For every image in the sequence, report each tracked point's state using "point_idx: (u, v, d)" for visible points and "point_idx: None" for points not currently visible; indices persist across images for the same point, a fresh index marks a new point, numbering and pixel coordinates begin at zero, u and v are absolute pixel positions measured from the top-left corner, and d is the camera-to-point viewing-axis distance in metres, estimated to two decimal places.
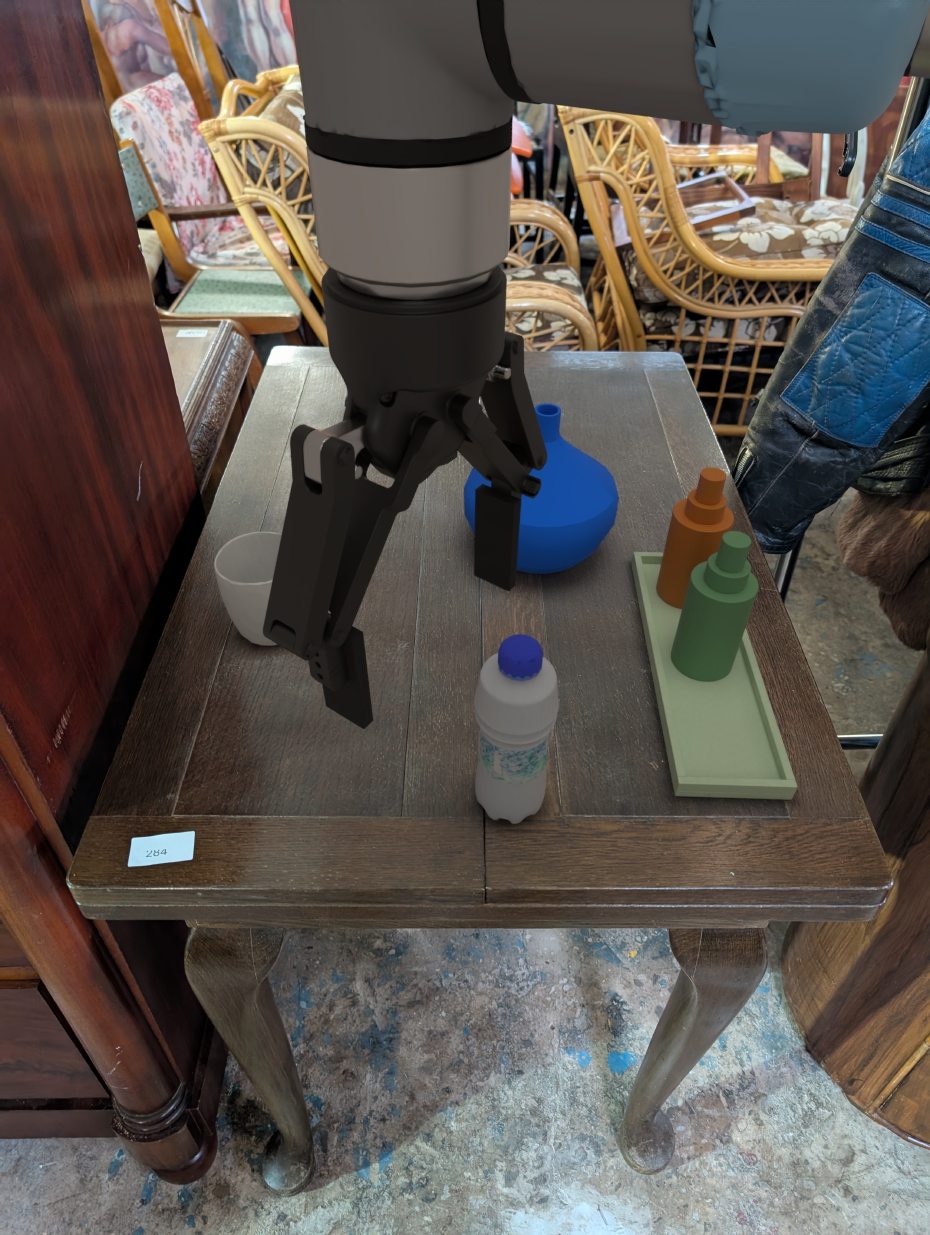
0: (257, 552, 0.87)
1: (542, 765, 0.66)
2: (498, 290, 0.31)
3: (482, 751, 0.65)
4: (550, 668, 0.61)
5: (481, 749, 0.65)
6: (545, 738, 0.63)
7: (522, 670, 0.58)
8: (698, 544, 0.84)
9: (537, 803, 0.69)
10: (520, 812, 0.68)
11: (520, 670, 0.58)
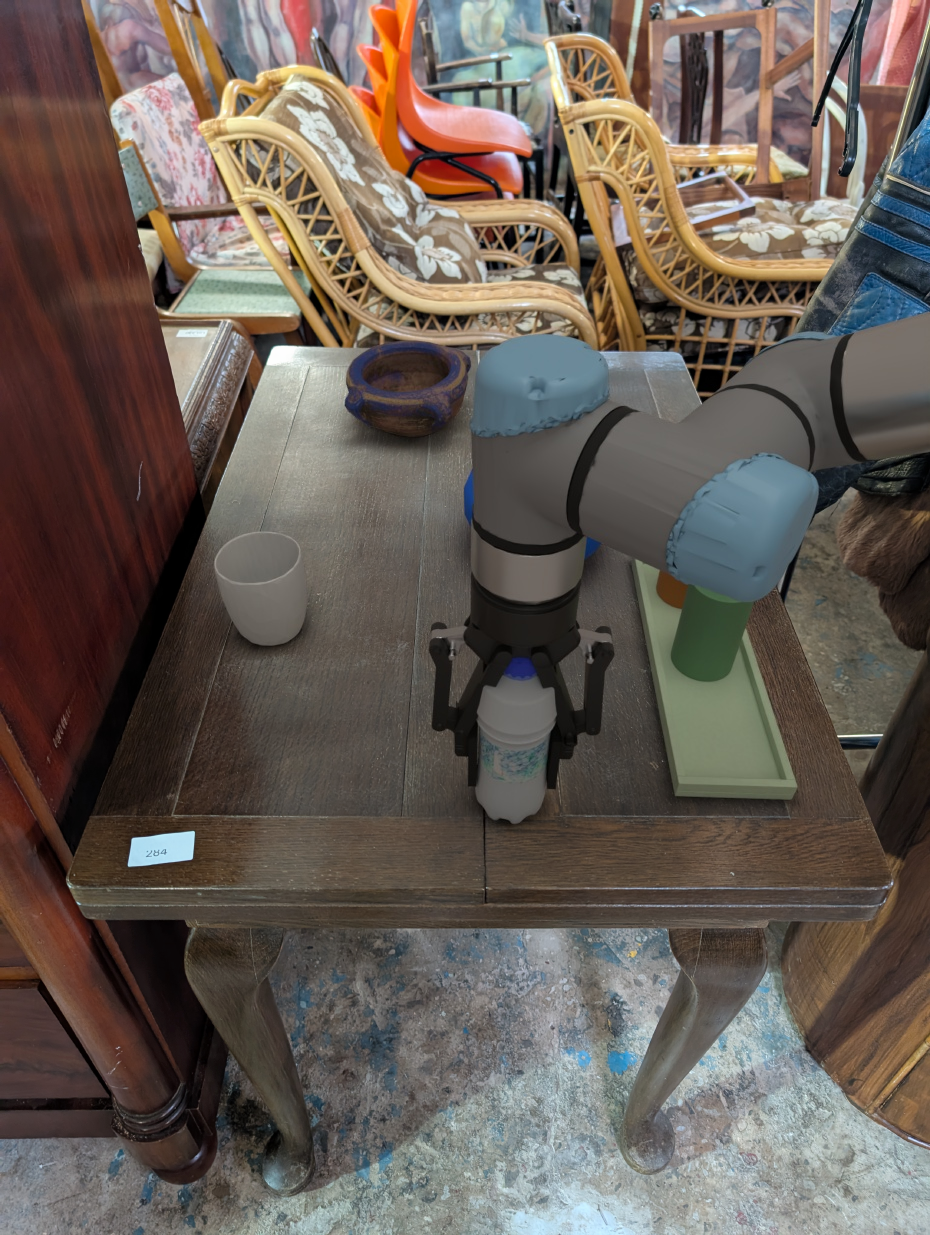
0: (257, 552, 0.87)
1: (542, 765, 0.66)
2: (542, 612, 0.52)
3: (482, 751, 0.65)
4: None
5: (481, 749, 0.65)
6: (545, 738, 0.63)
7: (522, 670, 0.58)
8: None
9: (537, 803, 0.69)
10: (520, 812, 0.68)
11: (520, 670, 0.58)
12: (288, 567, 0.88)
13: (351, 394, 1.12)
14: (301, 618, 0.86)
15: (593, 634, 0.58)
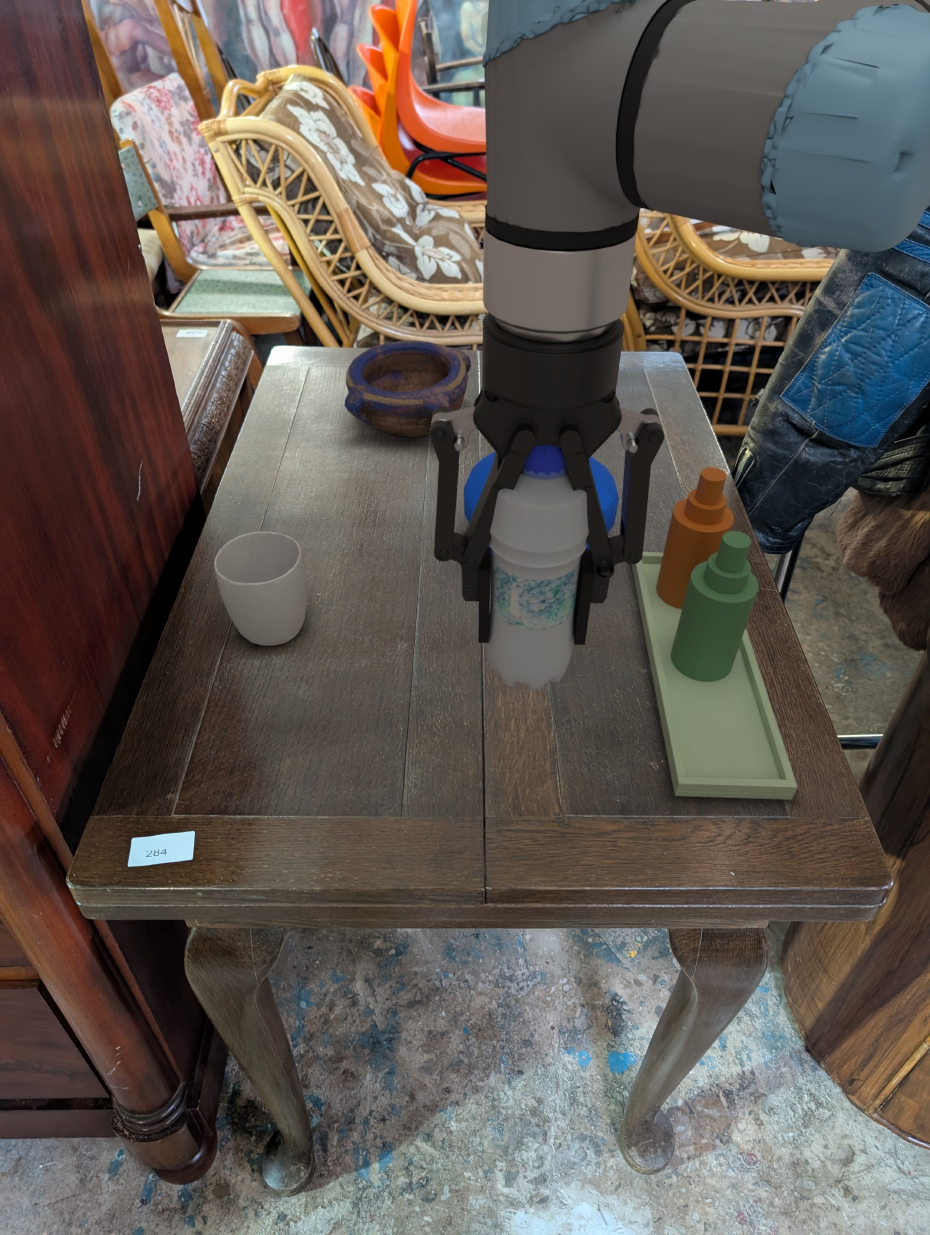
0: (257, 552, 0.87)
1: (569, 608, 0.54)
2: (576, 351, 0.40)
3: (496, 590, 0.53)
4: None
5: (495, 587, 0.53)
6: (574, 567, 0.51)
7: (547, 462, 0.46)
8: (698, 544, 0.84)
9: (563, 662, 0.57)
10: (542, 672, 0.56)
11: (545, 462, 0.46)
12: (288, 567, 0.88)
13: (351, 394, 1.12)
14: (301, 618, 0.86)
15: (637, 415, 0.46)
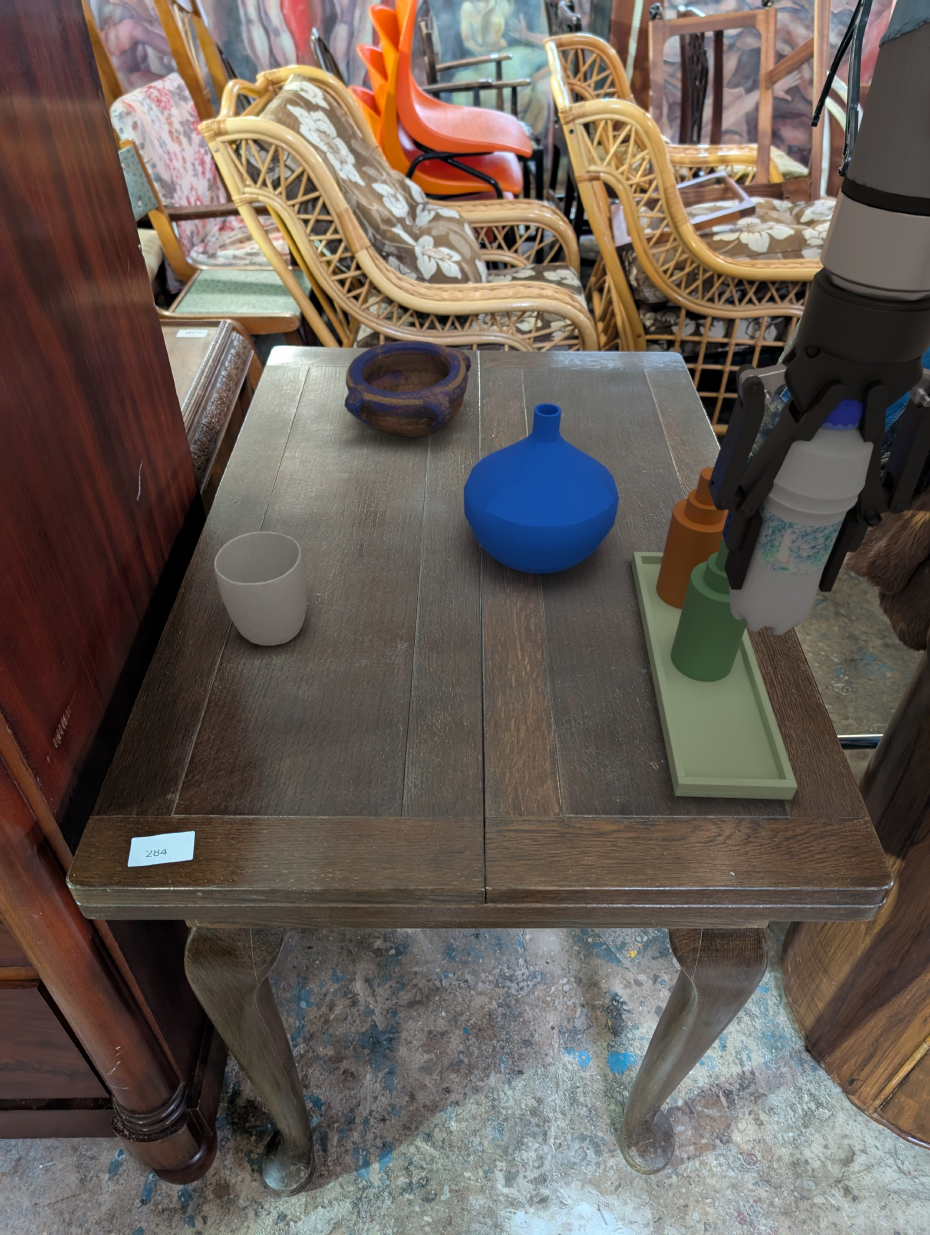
0: (257, 552, 0.87)
1: (828, 555, 0.58)
2: (920, 309, 0.44)
3: (764, 537, 0.58)
4: None
5: (762, 535, 0.58)
6: (844, 515, 0.56)
7: (848, 414, 0.51)
8: (698, 544, 0.84)
9: (809, 607, 0.61)
10: (793, 616, 0.61)
11: (846, 415, 0.51)
12: (288, 567, 0.88)
13: (351, 394, 1.12)
14: (301, 618, 0.86)
15: None
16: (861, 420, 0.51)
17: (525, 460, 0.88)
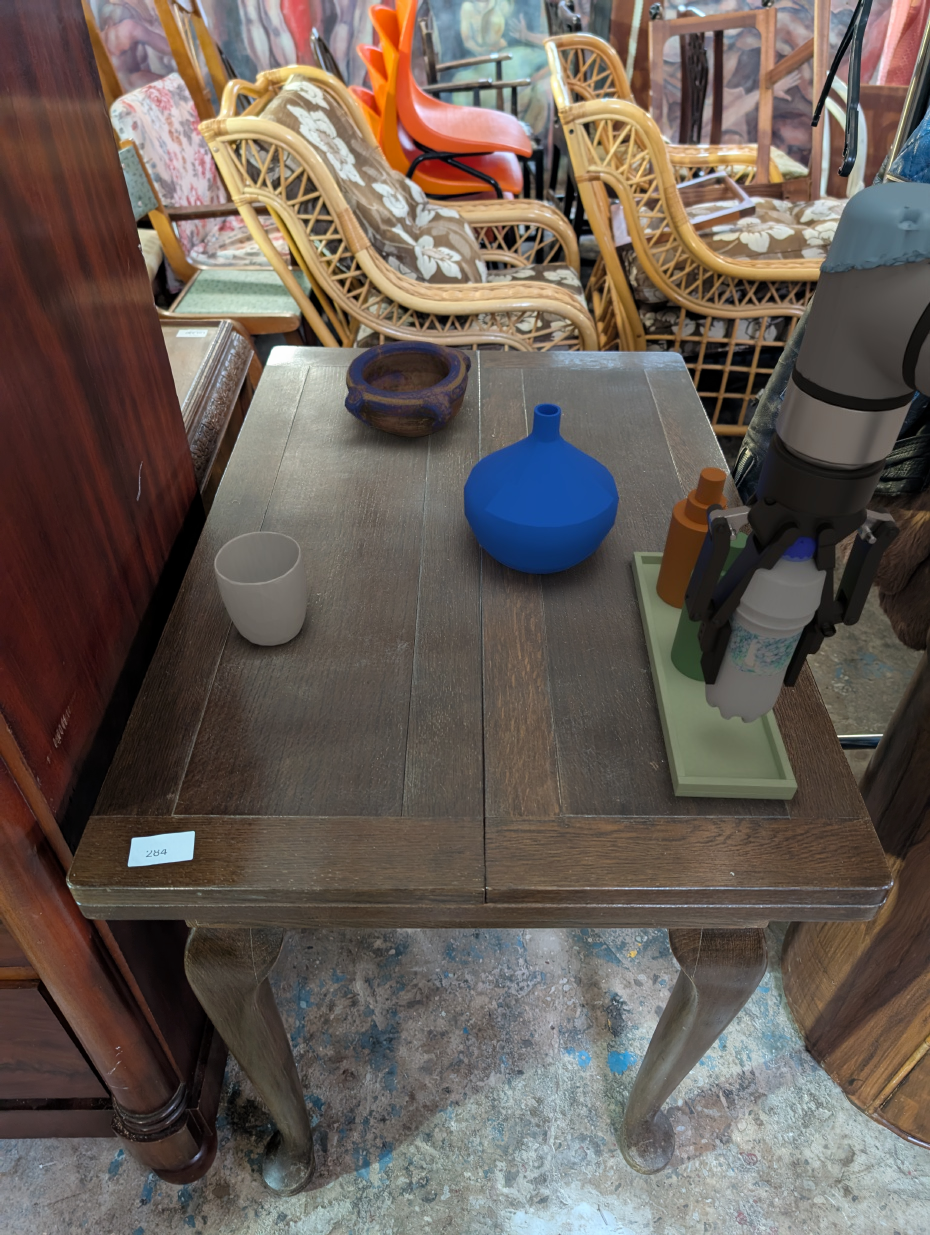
0: (257, 552, 0.87)
1: (790, 658, 0.66)
2: (858, 477, 0.52)
3: (733, 643, 0.65)
4: None
5: (731, 641, 0.65)
6: (803, 627, 0.63)
7: (803, 549, 0.58)
8: (698, 544, 0.84)
9: (775, 700, 0.69)
10: (760, 708, 0.68)
11: (801, 550, 0.58)
12: (288, 567, 0.88)
13: (351, 394, 1.12)
14: (301, 618, 0.86)
15: (876, 514, 0.58)
16: (815, 553, 0.59)
17: (525, 460, 0.88)
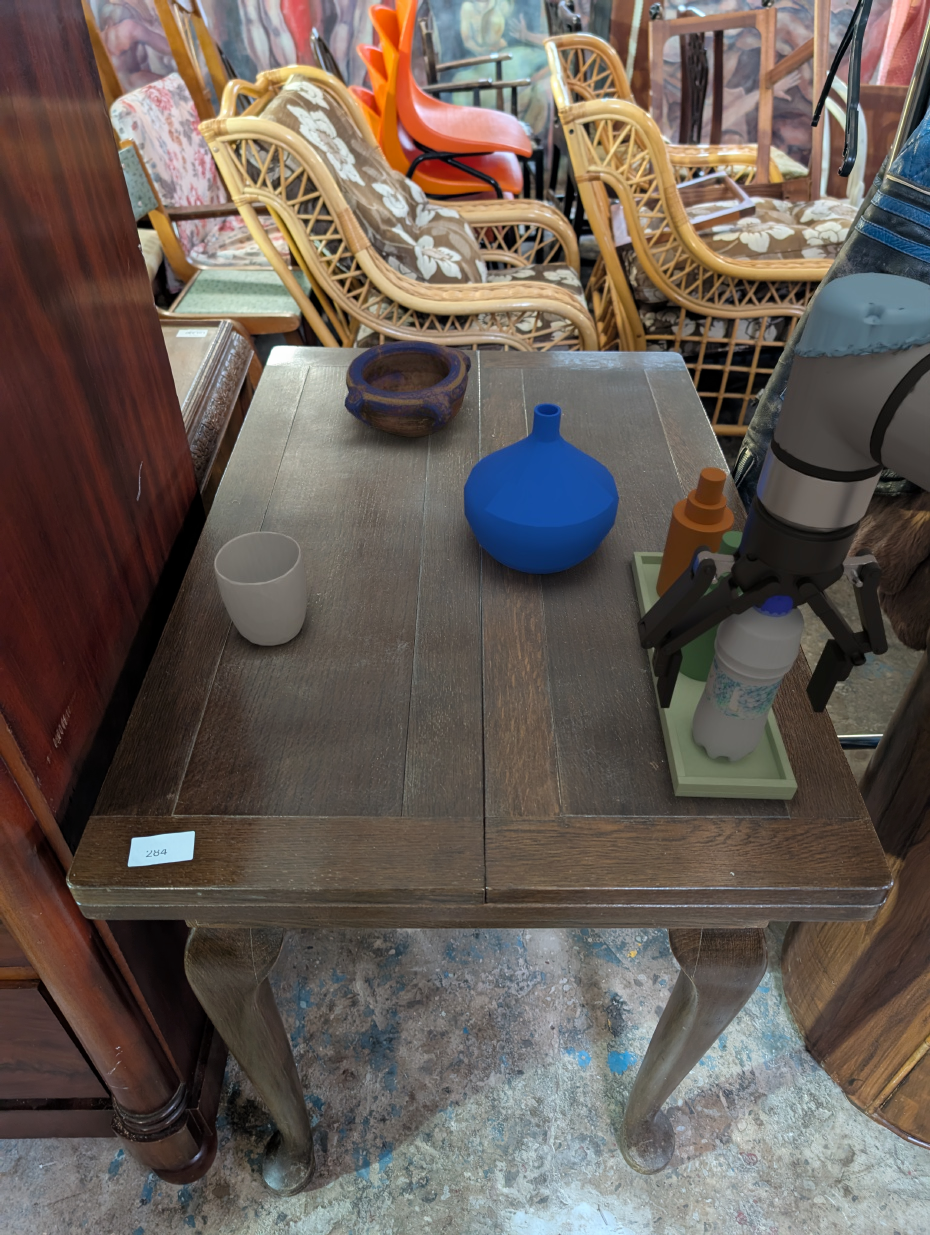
0: (257, 552, 0.87)
1: (772, 703, 0.70)
2: (833, 539, 0.55)
3: (718, 689, 0.69)
4: None
5: (716, 687, 0.69)
6: (783, 675, 0.67)
7: (781, 606, 0.62)
8: (698, 544, 0.84)
9: (758, 741, 0.73)
10: (744, 749, 0.72)
11: (779, 606, 0.62)
12: (288, 567, 0.88)
13: (351, 394, 1.12)
14: (301, 618, 0.86)
15: (855, 559, 0.61)
16: (807, 602, 0.62)
17: (525, 460, 0.88)
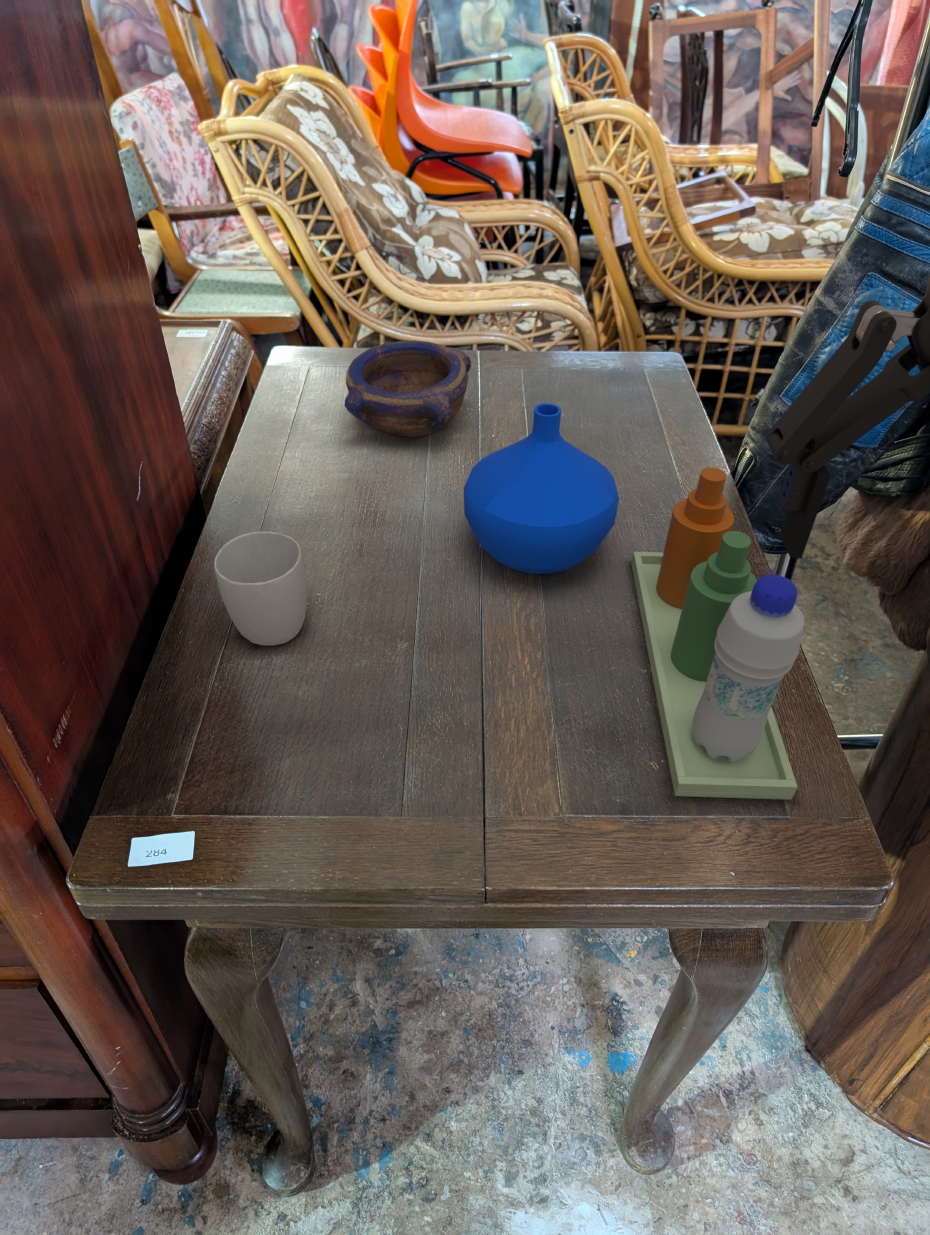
0: (257, 552, 0.87)
1: (772, 703, 0.70)
2: None
3: (718, 689, 0.69)
4: (796, 607, 0.65)
5: (716, 687, 0.69)
6: (783, 675, 0.67)
7: (781, 606, 0.62)
8: (698, 544, 0.84)
9: (758, 741, 0.73)
10: (744, 749, 0.72)
11: (780, 606, 0.62)
12: (288, 567, 0.88)
13: (351, 394, 1.12)
14: (301, 618, 0.86)
15: None
16: None
17: (525, 460, 0.88)
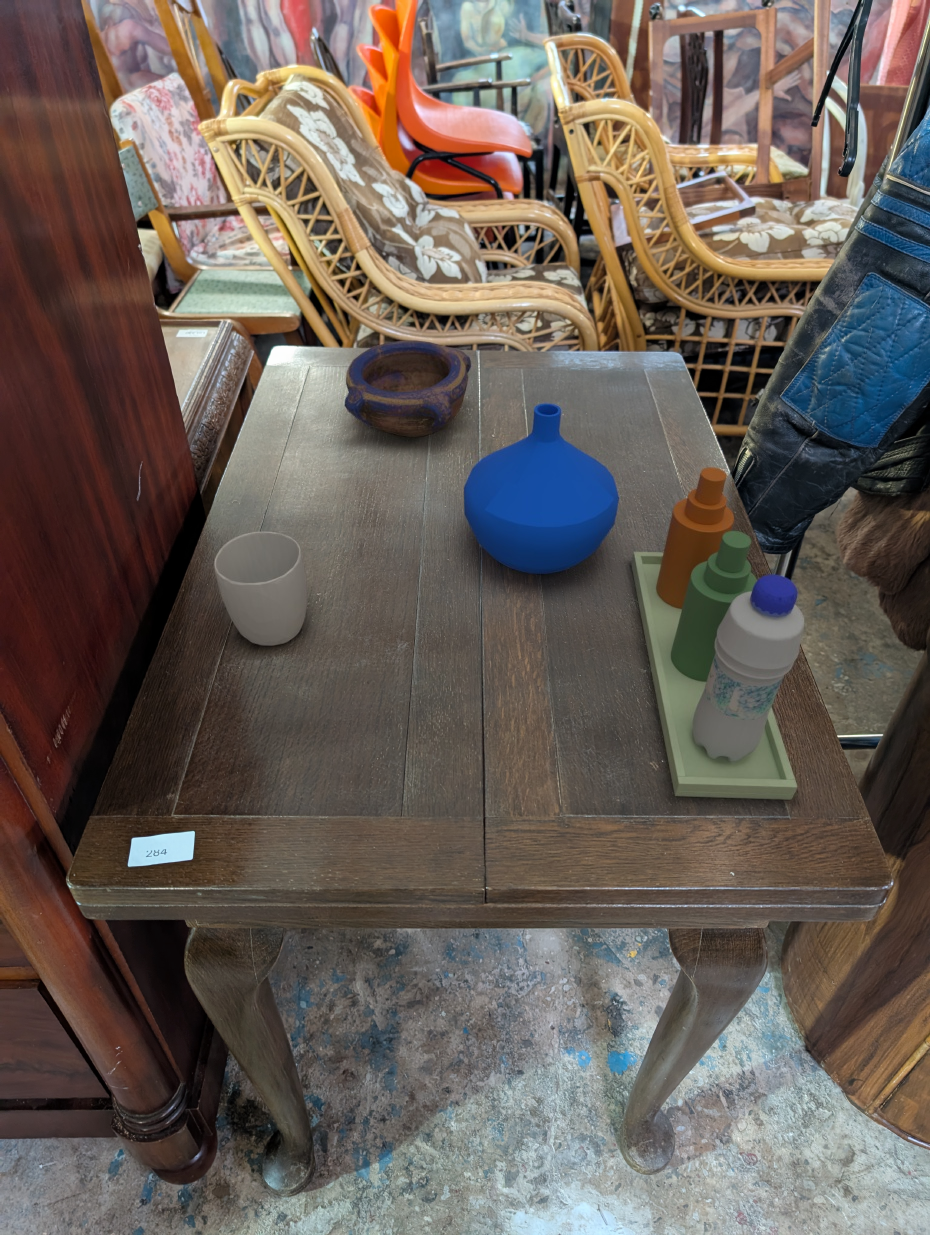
0: (257, 552, 0.87)
1: (772, 703, 0.70)
2: None
3: (718, 689, 0.69)
4: (796, 607, 0.65)
5: (716, 687, 0.69)
6: (783, 675, 0.67)
7: (781, 606, 0.62)
8: (698, 544, 0.84)
9: (758, 741, 0.73)
10: (744, 749, 0.72)
11: (780, 607, 0.62)
12: (288, 567, 0.88)
13: (351, 394, 1.12)
14: (301, 618, 0.86)
15: None
16: None
17: (525, 460, 0.88)
